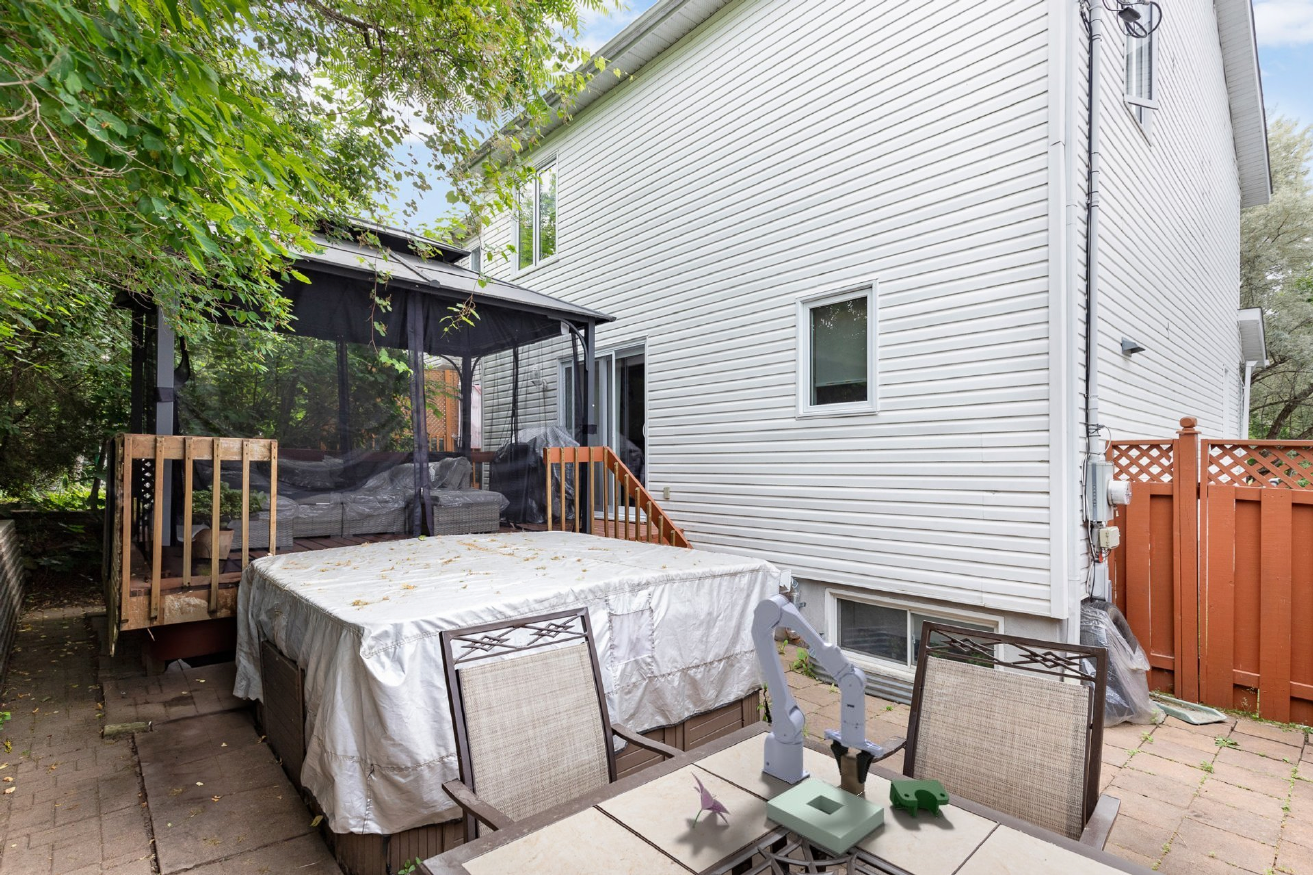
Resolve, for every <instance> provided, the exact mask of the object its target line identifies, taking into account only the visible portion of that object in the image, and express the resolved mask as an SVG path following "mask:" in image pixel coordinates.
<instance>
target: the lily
mask: <svg viewBox="0 0 1313 875" xmlns="http://www.w3.org/2000/svg"><path fill="white" fill-rule="evenodd" d="M690 774H691V775H692V776H693V777H694V779H695V781H696V783H697V784H698V786H699V788H698V787H697V786H693V788H694V789H695V791H697V792H698V793H699V794H700V803H701V805H700V806H701V808H700V810H699V812H698V814H696V818H695V820H694V822H693V824H692V829H694V828H695V825H696V823H697V820H698V818H699V816H700V815H701V813H702V812H703V811H704V810H705V811H710V812H714V813H716V814H717V815H719V816H720V818H722V819H723V821H724V822H725V823H726V825H728V826H730V825H729V822H728V820H727V819H726V817H725V816H724V814H727V815H729V816H732V814H731V812H729V810H728V809H727V808H726V807H725V806H724V804H722V803H721V802H720V801H718V800H717V799H716V797H717V795H716V794H714V795H712V794H711V793H710V792H709V790H708V789H707V788H705V786H704V784H703V783H702V781H701V780H700V779H699V778H698V777H697V776H696V775H695V774H694V772H692V771H690ZM722 813H723V814H722Z"/></svg>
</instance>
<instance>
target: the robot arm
mask: <svg viewBox="0 0 1313 875" xmlns="http://www.w3.org/2000/svg"><path fill="white" fill-rule="evenodd" d="M752 620H753V621H752V625H751V630H750V634H751V638H752V641H753V644H754V647H755V651H756V654H757V657H758V660H759V663H760V667H761V670H762V674H763V678H764V681H765V683H766V687H767V690H768V694H769V697H770V701H771V707H770V716H771V719H772V720H771V721H772V722H771V732H769V733H768V734H767V736H766V737H765V739H764V744H763V767H762V768H761V771H762V772H764V773H766V774H768V775H771V776H773V777H775V778H777V779H779V780H781V781H784V782H786V781H787V782H786V783H788V782H789V784H790V785H795V784H797V783H798V782H800V781H802V780H803V779H805V778H807V777H809V776H810V775H811V772H810V771H807V770H805V769H804V735H803V731H802V730H803V728H804V727H805V725H806V721H807V719H806V715H805V713H804V711H803V709H801V708H800V706H799V704H798V701H797V699H796V698H795V697H794V696H793V695H792V693H791V690H790V687H789V683H788V680H787V677H786V674H785V670H784V668H783V665H782V661H781V658H780V654H779V651H778V648H777V644H776V641H775V638H774V636H773V634H774V632H775V631H776V628H777V627H780V628H787V629H792V630H793V631H794V633H795V634H797V636H798V637H800V638H801V639H802V640H803V641H804V642H805V643H806V644H807V645H808V646H809V647H810V648H811V649H812V650H813V651H814V652H815V660H816V661H817V662H818V663H819V664H820V665H821V666H822V667H823V669H824V670H826V672H827V673H828V674H829V675H830V676H831V678H833V680H835V681H837V686H838V690H839V692H840V693H841V696H840V731H839V730H834V729H830V728H828V729H825V730H824V734H823V736H824V739H825V740H831V741H832V743H831V744H830V750H831V751H832V754H833V756H834V758H835V761H836V764H837V768H838V773H839V776H841V756H842V755H844V754H846V753H848V752H849V749H850V748H853V749H856V750H858V751H860V752H858V753H855V754H856V758H857V762H858V770H859V773H858V779H859V783H860V784H863V783H864V782H865V783H866V782H867V776H868V774H869V770H870V768H871V767H870V766H871V764H872V763H873V761H874V759H875V758H876V759H881V758H882V757H884V748H883V747H882V746H879V745H877V744H875V743H873V742H872V741H870V740H869V739H866V694H865V693H866V692H865V688H866V687H867V683H868V677H867V674H866V672H864V670H863V669H862V668H861V667H859V666H857V665H856V664H855V663H854V662H851V660H849V658H847V657H846V656H845V655H844V654H843V653H842V652H841V651H842V648H841V647H840V646H839V645H837V646H836V645H835V644H834V643H832V642H830V643H829V642H825V641H824V639H823V638H822V637H821V636H820V635H819V634H818V633H817V632H816V630H815V629H814V628H813V627H812V626H811V625H810V623H809V622H808V621H807V620H806V619H805V617H804V616H803V615H802V614H801V613H800V611H799V610H798V609H797V607H796V606H795V605H794V604H793V603H792V602H790V601H789V599H788V598H787V597H786V596H784V595H782V594H781V593H780V594H779V593H775V594H773V595H771V596H770V597H768V598H765V599H762V600H760V601H759V602H758V603H757V606H756V607H755V608H754V610H753V619H752ZM808 775H809V776H808ZM797 781H798V782H797Z"/></svg>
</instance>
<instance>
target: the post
mask: <svg viewBox="0 0 1313 875" xmlns="http://www.w3.org/2000/svg"><path fill="white" fill-rule="evenodd" d="M856 754H857V753H855V752H852V751H848V753H846V754H844V755H842V756H841V775H840V789H842V790H845V791H847V792H849V793H852V794H854V795H856V796H857V795H858V794H860V793H861V792H863V791H864V790H865V783H866V782H864V783H863V784H860V783H859V779H858V773H859V770H858V762H857V758H856ZM863 793H864V792H863ZM860 795H861V794H860ZM858 796H859V795H858Z"/></svg>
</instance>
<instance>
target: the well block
mask: <svg viewBox="0 0 1313 875" xmlns="http://www.w3.org/2000/svg"><path fill="white" fill-rule="evenodd" d="M765 816H766V817H765V819H766V820H768V821H771V822H772V823H774V824H776V825H778V826H780V825H782V826H784V827H785V828H786V829H785V828H784V829H785V830H787V829H788V832H792V833H794V834H795V835H797V836H799V835H801V836H803V837H804V838H803V837H802V838H803V839H805V838H806V839H805V840H806V841H809V842H811V843H812V844H815V846H816V845H817V846H819V847H820V848H823V850H827V851H828V852H830V853H832V854H835V855H836V856H838V857H840V856H841V855H842V856H843V855H845V854H846V853H847V852H849V851H850V850H851V849H852V848H851V847H852V846H854V847H856V845H858V844H859V843H861V842H862V841H864V840H865V839H866V838H867V837H869V836H870V835H871V834H872V833H874V832H875V831H876V829H877V830H878V829H880V828H881V827H882V826H883V825H885V807H884V806H883V805H880V804H877V803H874V802H873V801H871V800H869V799H866V798H863V797H860V795H858V796H856V795H854V794H852V793H849V792H847V791H845V790H842V789H841V787H837V786H835V785H832V784H830V783H828V782H826V781H824V780H821V779H819V778H817V777H814V776H811V777H810V778H808V779H806V780H804V781H802V782H801V783H799V784H797V785H795V786H793V787H791V788H790V789H788V790H786V791H784V792H782V793H781V794H779V795H777V796H776V797H774V798H771V799H769V800H768V801H766V815H765ZM782 826H781V827H782ZM801 836H800V837H801ZM850 848H851V849H850ZM849 849H850V850H849ZM848 850H849V851H848ZM844 853H845V854H844ZM842 856H841V857H842Z"/></svg>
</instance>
